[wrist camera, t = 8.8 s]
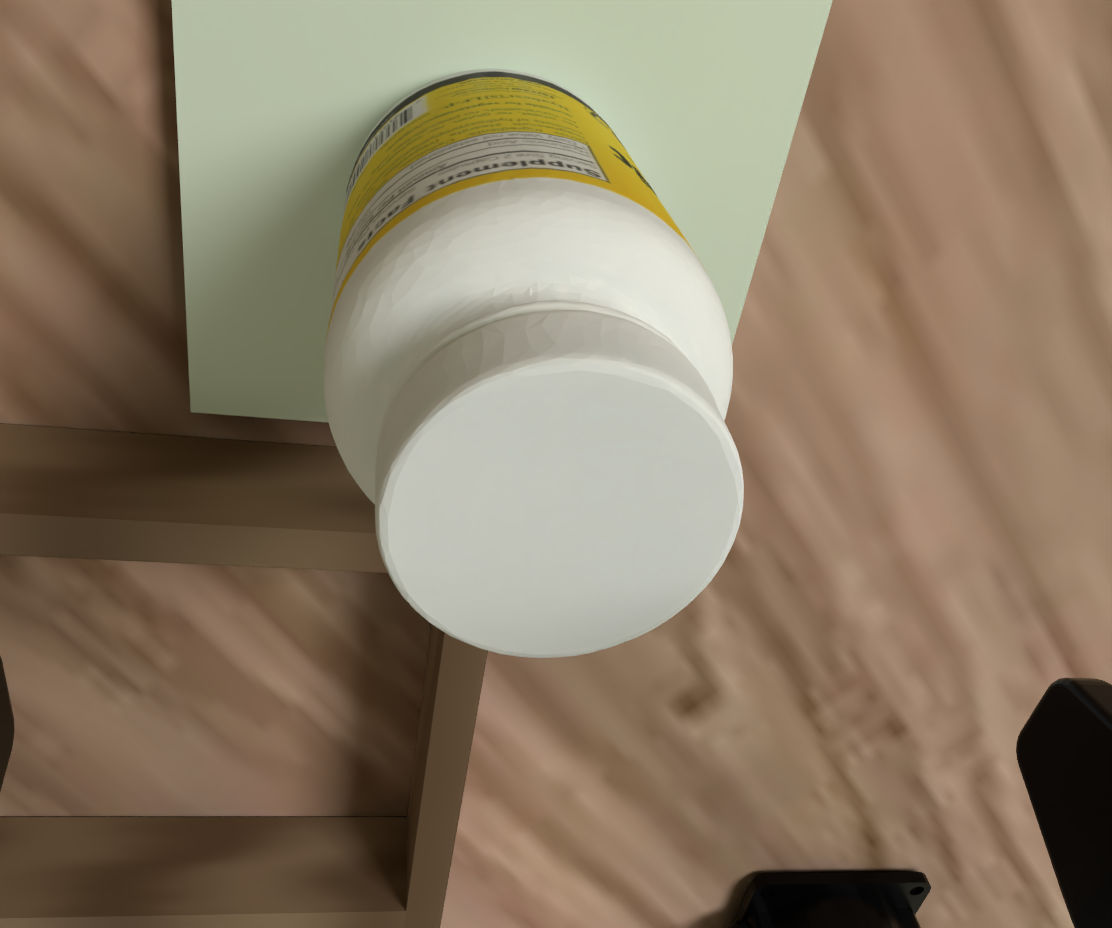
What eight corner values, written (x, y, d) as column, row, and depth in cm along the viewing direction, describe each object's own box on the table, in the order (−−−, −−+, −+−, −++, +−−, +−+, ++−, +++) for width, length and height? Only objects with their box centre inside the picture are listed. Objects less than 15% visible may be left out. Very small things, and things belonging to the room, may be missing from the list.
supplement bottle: (637, 324, 20) (789, 675, 12) (373, 354, 20) (349, 736, 12) (632, 44, 17) (832, 264, 9) (319, 73, 17) (237, 330, 9)
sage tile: (831, -42, 17) (843, -37, 17) (695, 436, 23) (701, 450, 22) (172, -161, 15) (163, -159, 15) (195, 397, 21) (190, 412, 20)
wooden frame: (496, 458, 22) (506, 540, 20) (437, 837, 30) (439, 931, 27) (-309, 402, 19) (-414, 490, 17) (-147, 840, 27) (-204, 945, 24)
